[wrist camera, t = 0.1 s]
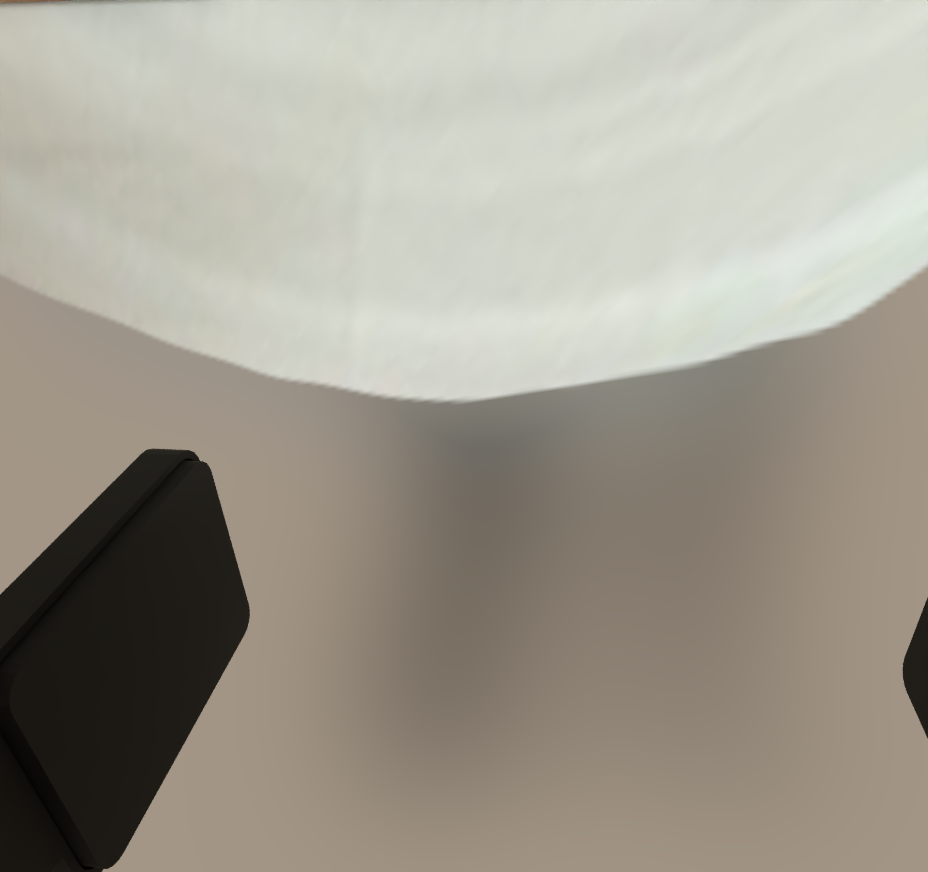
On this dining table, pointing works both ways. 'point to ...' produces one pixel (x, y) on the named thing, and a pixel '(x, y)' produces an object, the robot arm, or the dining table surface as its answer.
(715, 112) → the dining table surface
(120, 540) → the robot arm
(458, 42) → the dining table surface
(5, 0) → the socket holder
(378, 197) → the dining table surface
